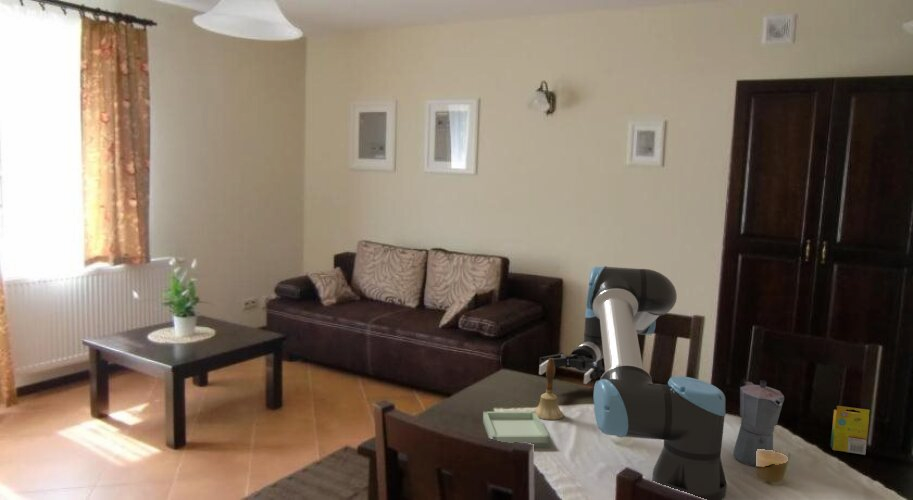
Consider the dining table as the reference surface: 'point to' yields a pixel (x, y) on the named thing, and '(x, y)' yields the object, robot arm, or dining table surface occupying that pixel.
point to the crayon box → (850, 430)
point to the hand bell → (549, 397)
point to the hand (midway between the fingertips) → (562, 374)
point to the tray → (516, 428)
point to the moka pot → (756, 419)
